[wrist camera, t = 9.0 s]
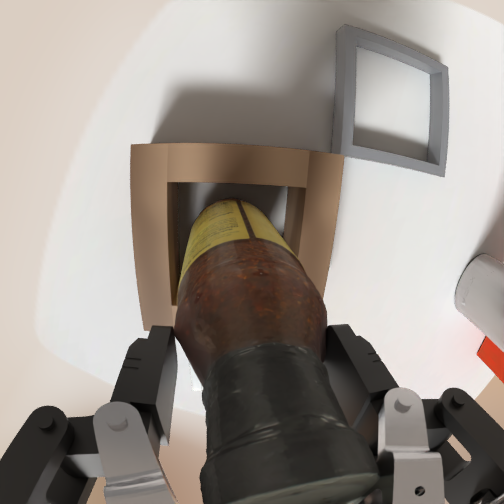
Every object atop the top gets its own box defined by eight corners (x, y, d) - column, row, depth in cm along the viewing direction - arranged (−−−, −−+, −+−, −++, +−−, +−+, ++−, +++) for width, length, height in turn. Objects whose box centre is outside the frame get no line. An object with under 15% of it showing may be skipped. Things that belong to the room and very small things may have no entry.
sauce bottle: (188, 264, 23) (140, 527, 4) (197, 189, 21) (75, 443, 2) (265, 274, 24) (344, 521, 5) (281, 202, 22) (471, 419, 3)
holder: (319, 152, 22) (344, 155, 17) (300, 301, 27) (315, 331, 22) (149, 144, 20) (130, 144, 16) (155, 299, 25) (144, 330, 21)
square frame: (436, 69, 19) (447, 67, 17) (432, 174, 24) (444, 177, 22) (336, 31, 18) (345, 24, 16) (330, 154, 22) (340, 155, 20)
